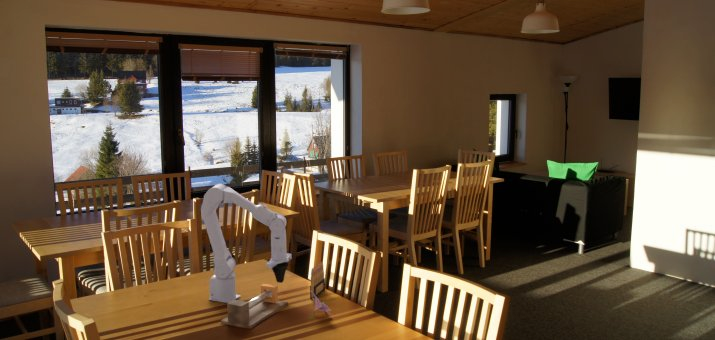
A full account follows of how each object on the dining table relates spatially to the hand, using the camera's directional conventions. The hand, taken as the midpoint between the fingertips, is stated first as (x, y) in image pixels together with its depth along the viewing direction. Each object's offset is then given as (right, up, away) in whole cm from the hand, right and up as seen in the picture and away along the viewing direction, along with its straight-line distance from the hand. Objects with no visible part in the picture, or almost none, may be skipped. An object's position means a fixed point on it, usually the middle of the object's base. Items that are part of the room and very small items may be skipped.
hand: (280, 281), depth 227 cm
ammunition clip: (+14, -6, +5) cm, 16 cm away
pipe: (-6, -5, -13) cm, 16 cm away
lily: (+17, -9, -18) cm, 26 cm away
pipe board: (-7, -9, -14) cm, 18 cm away
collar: (-3, -6, -6) cm, 9 cm away
